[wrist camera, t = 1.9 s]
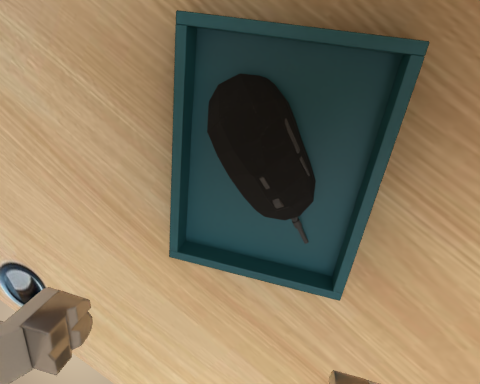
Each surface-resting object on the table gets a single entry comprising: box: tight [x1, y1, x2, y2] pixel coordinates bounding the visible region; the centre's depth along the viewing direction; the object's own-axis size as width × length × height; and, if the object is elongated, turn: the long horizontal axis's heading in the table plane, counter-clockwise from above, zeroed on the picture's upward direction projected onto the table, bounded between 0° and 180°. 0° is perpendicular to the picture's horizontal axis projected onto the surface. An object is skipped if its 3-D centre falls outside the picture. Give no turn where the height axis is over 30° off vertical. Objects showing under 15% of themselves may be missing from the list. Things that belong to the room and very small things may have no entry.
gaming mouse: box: [207, 74, 316, 244], centre depth 23 cm, size 6×15×4 cm, turn 26°
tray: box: [169, 10, 429, 301], centre depth 25 cm, size 20×16×2 cm
